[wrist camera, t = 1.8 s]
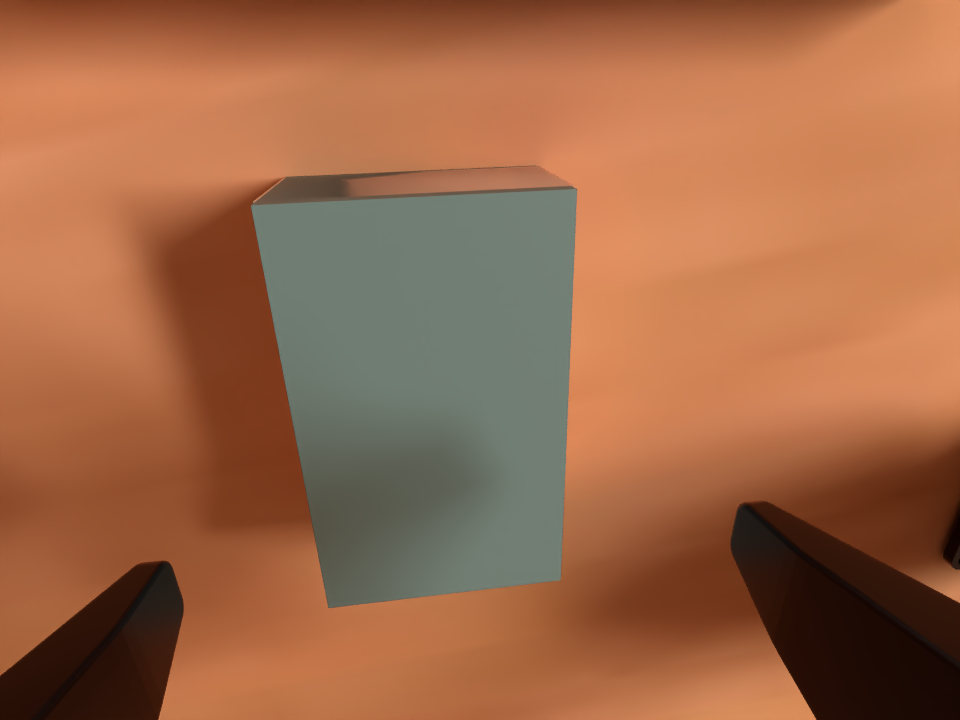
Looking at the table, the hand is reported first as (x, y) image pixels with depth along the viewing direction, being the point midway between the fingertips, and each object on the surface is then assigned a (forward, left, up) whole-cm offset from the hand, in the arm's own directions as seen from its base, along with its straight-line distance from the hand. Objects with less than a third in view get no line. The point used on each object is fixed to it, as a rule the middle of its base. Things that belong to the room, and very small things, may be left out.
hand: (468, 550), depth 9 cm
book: (0, 0, -8) cm, 8 cm away
